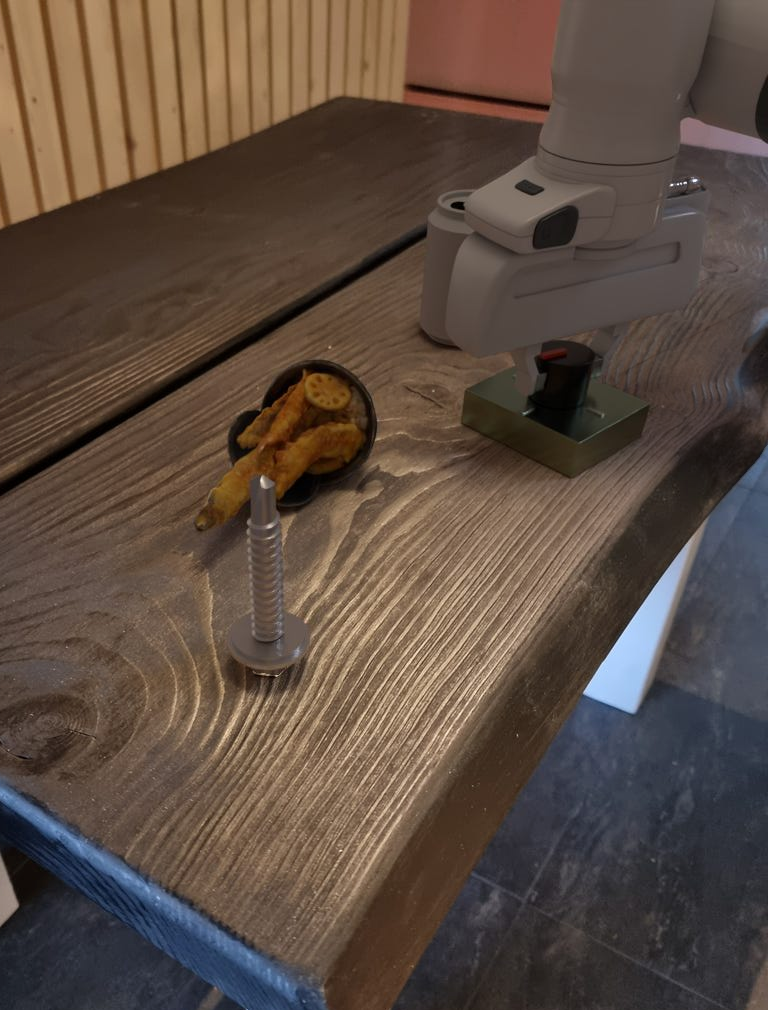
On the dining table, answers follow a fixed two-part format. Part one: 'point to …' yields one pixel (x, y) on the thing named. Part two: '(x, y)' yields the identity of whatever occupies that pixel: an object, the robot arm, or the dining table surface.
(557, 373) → the timer knob
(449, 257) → the can
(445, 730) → the dining table surface
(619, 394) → the timer panel
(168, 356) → the dining table surface
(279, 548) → the screw
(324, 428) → the fried shrimp in bowl
